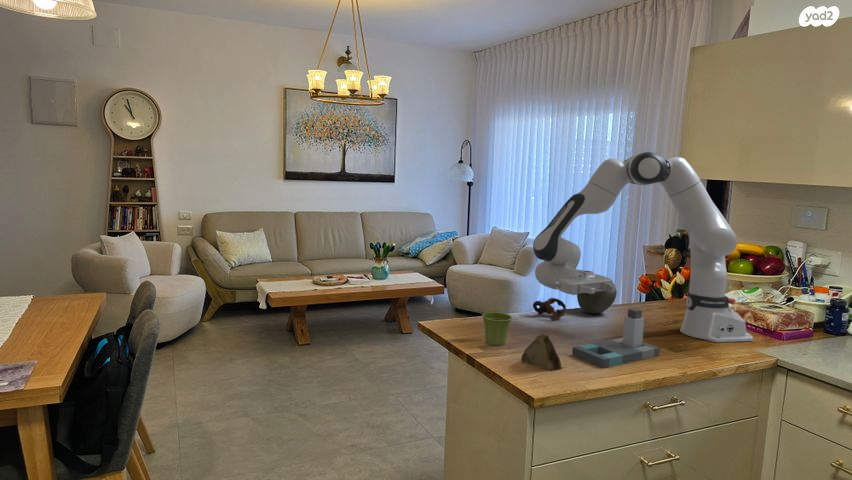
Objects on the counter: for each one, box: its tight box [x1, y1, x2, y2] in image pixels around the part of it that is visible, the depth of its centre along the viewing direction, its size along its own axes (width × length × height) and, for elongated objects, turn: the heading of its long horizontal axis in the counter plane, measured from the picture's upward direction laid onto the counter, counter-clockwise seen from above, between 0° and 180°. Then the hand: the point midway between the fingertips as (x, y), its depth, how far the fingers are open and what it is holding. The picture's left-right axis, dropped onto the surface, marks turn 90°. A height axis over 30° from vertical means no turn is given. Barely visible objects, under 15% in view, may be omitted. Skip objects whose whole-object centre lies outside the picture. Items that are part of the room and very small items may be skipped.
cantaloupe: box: [576, 282, 617, 315], centre depth 217 cm, size 14×14×15 cm
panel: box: [572, 337, 660, 369], centre depth 170 cm, size 24×12×2 cm, turn 121°
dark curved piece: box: [532, 297, 567, 321], centre depth 210 cm, size 12×10×8 cm
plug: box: [622, 307, 645, 348], centre depth 172 cm, size 4×4×13 cm
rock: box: [520, 333, 563, 371], centre depth 159 cm, size 11×9×10 cm
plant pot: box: [481, 311, 513, 346], centre depth 177 cm, size 9×9×9 cm
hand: (603, 290), depth 181 cm, fingers open, 8 cm apart
